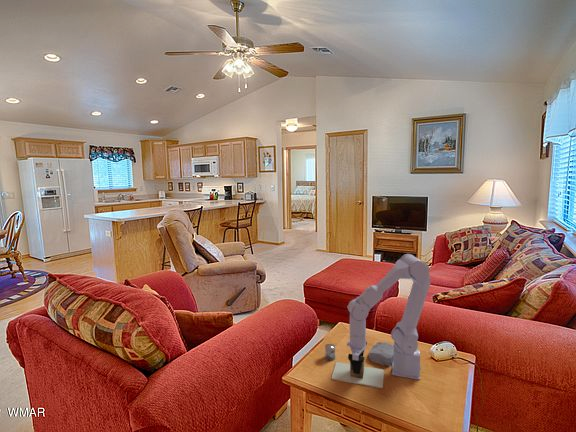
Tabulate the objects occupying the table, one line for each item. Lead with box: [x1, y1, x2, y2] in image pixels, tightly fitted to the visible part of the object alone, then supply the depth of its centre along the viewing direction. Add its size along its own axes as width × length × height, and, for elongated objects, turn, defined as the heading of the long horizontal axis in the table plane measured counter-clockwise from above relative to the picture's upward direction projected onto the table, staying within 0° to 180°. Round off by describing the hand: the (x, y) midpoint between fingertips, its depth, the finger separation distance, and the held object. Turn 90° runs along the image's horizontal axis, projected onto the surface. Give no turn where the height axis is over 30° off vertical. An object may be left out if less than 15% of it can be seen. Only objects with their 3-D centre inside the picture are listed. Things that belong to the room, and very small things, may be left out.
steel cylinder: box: [324, 343, 336, 362], centre depth 130 cm, size 4×4×5 cm
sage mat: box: [330, 361, 385, 389], centre depth 119 cm, size 18×10×1 cm, turn 71°
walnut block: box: [349, 355, 365, 379], centre depth 118 cm, size 4×4×6 cm
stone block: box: [368, 341, 394, 367], centre depth 129 cm, size 12×5×10 cm
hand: (357, 366), depth 118 cm, fingers open, 7 cm apart
